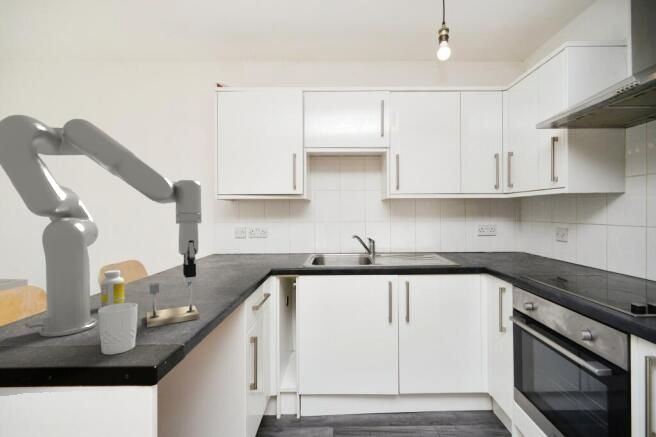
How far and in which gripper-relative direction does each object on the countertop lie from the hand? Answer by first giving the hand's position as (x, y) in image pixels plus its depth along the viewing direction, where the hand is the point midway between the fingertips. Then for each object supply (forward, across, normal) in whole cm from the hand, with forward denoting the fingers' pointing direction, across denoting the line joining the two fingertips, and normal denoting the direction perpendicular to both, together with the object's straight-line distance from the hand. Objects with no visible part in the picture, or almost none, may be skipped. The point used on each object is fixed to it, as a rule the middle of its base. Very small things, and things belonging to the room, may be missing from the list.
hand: (189, 275), depth 100 cm
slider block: (+11, 0, 0) cm, 11 cm away
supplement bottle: (+13, -24, -22) cm, 35 cm away
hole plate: (+13, 0, -5) cm, 14 cm away
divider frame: (+11, +1, -5) cm, 12 cm away
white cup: (+13, +19, -18) cm, 29 cm away
